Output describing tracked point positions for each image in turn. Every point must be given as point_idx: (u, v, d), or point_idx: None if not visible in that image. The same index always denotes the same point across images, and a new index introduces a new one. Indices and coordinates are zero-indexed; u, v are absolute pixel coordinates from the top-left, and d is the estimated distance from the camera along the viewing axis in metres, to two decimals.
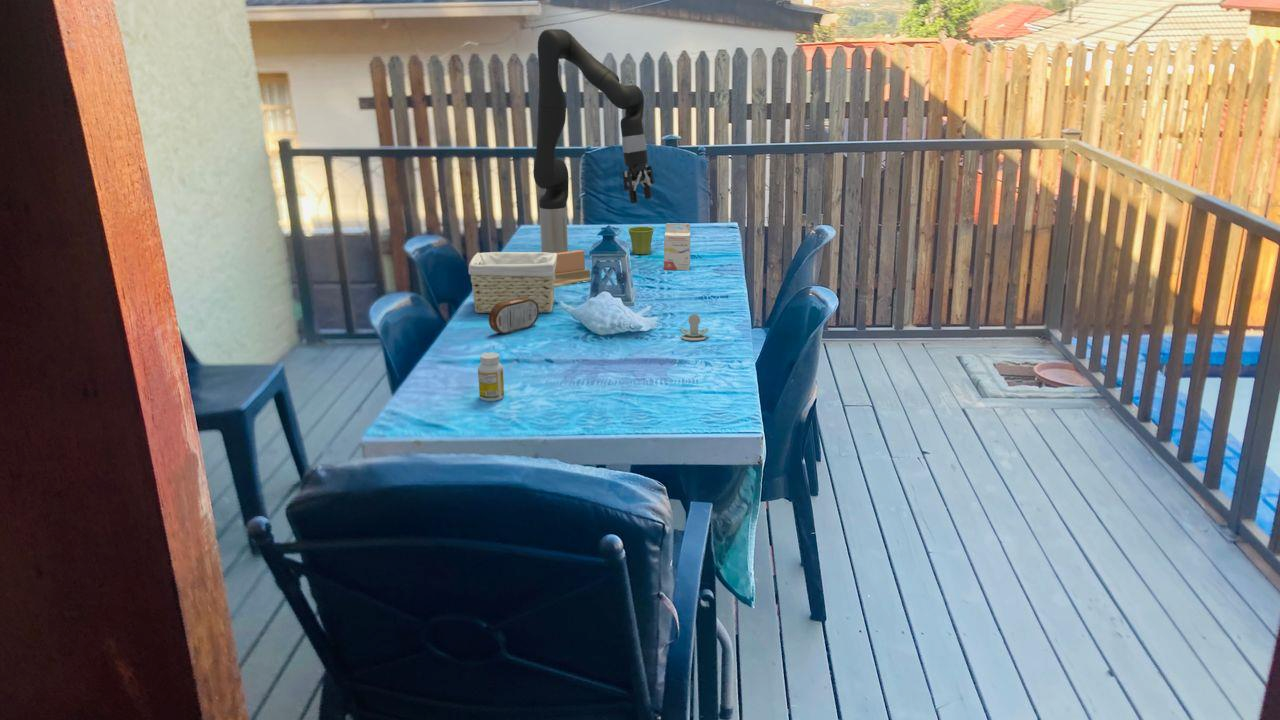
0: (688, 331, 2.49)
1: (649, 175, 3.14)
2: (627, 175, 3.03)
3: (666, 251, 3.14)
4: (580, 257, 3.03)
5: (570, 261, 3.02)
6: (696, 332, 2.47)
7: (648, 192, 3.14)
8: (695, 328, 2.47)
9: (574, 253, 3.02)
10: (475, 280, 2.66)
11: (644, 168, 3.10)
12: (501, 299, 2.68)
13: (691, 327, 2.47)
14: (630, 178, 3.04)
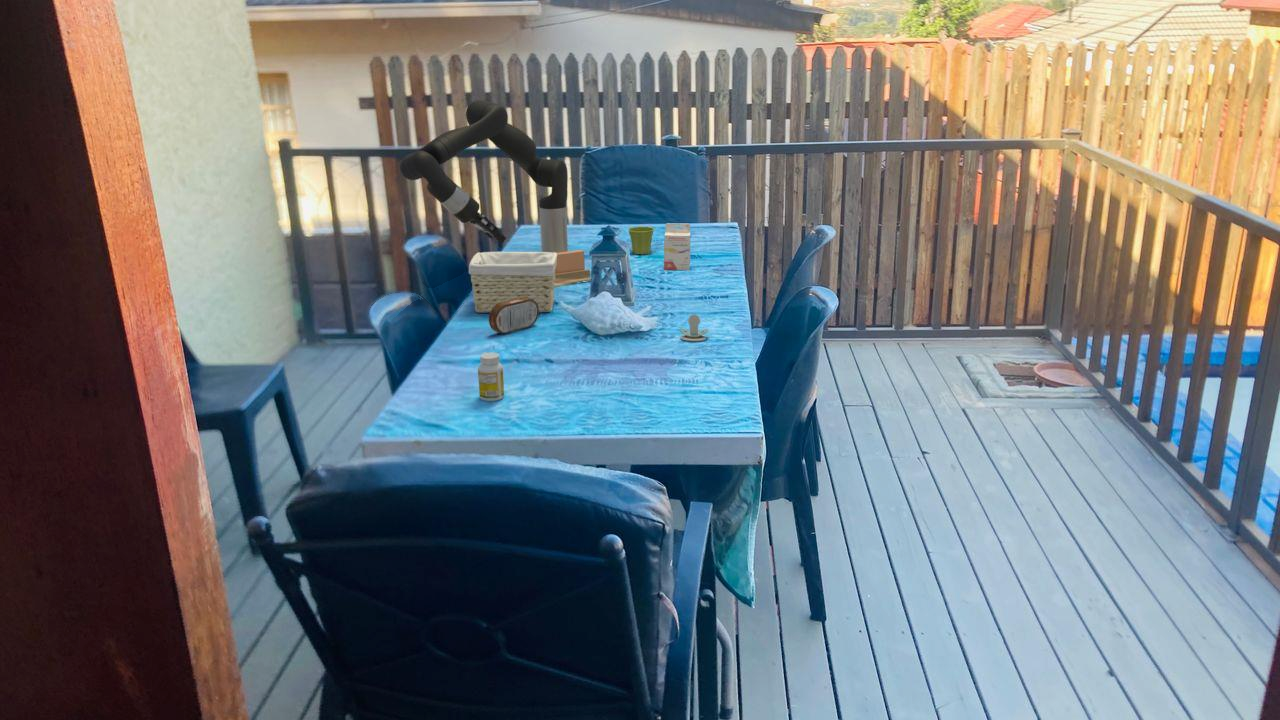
0: (688, 332, 2.48)
1: None
2: None
3: (666, 251, 3.14)
4: (580, 257, 3.03)
5: (570, 261, 3.02)
6: (696, 333, 2.47)
7: None
8: (695, 329, 2.46)
9: (574, 253, 3.02)
10: (475, 280, 2.66)
11: (475, 221, 2.81)
12: (501, 299, 2.68)
13: (691, 328, 2.47)
14: (469, 221, 2.89)
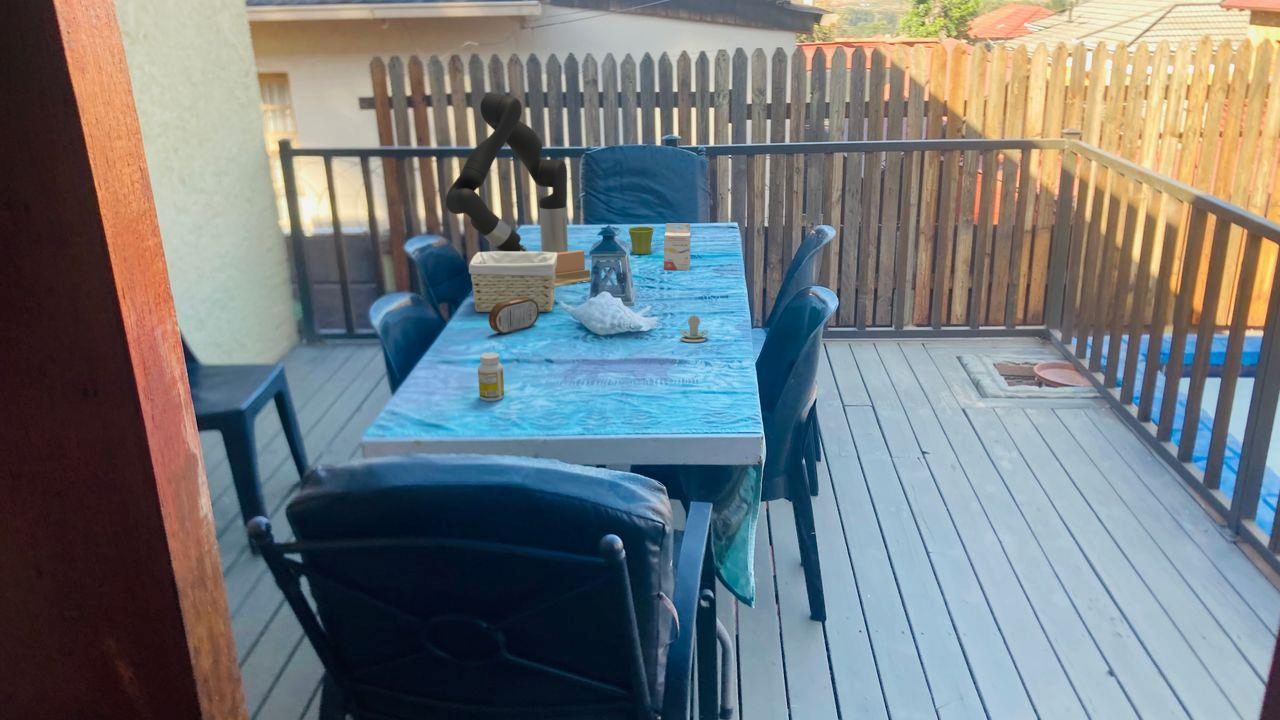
0: (688, 333, 2.48)
1: None
2: None
3: (666, 251, 3.14)
4: (580, 257, 3.03)
5: (570, 261, 3.02)
6: (696, 334, 2.46)
7: None
8: (695, 330, 2.46)
9: (574, 253, 3.02)
10: (475, 279, 2.67)
11: None
12: (501, 298, 2.69)
13: (691, 329, 2.46)
14: None
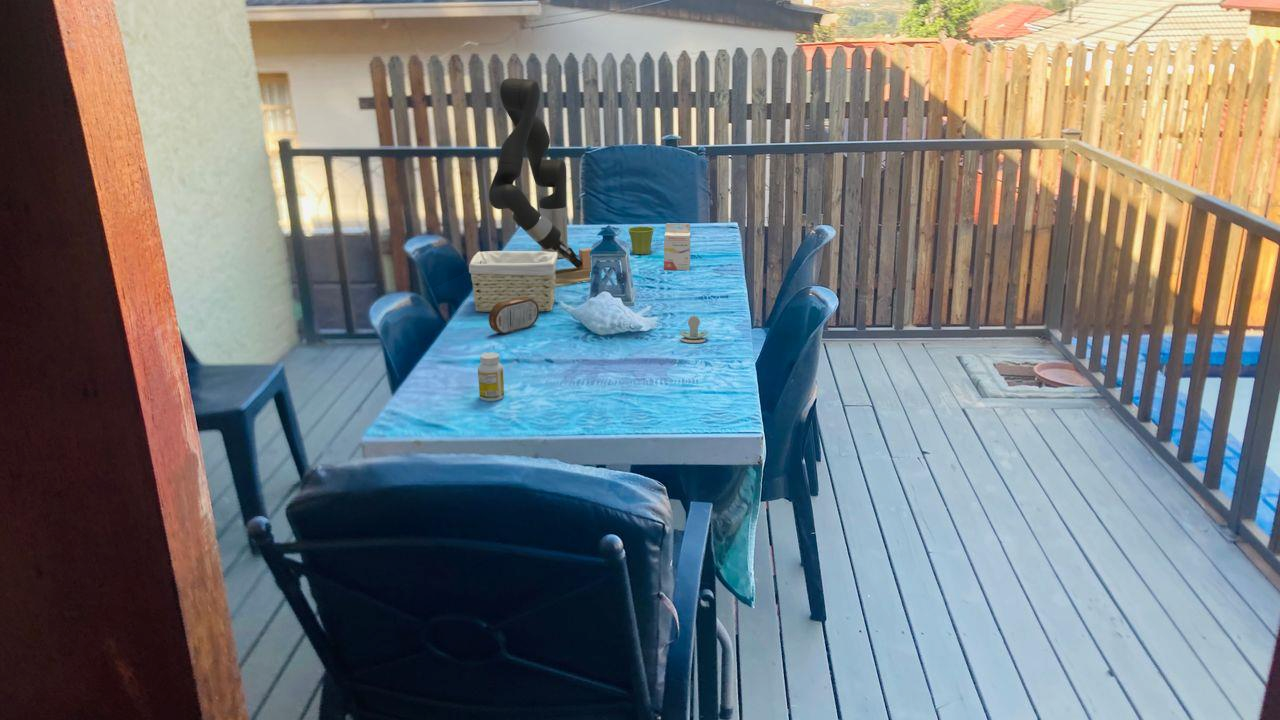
0: (688, 333, 2.47)
1: None
2: None
3: (666, 251, 3.14)
4: None
5: None
6: (696, 334, 2.46)
7: None
8: (695, 330, 2.45)
9: None
10: (475, 279, 2.67)
11: (557, 247, 2.97)
12: (501, 298, 2.69)
13: (691, 329, 2.45)
14: None
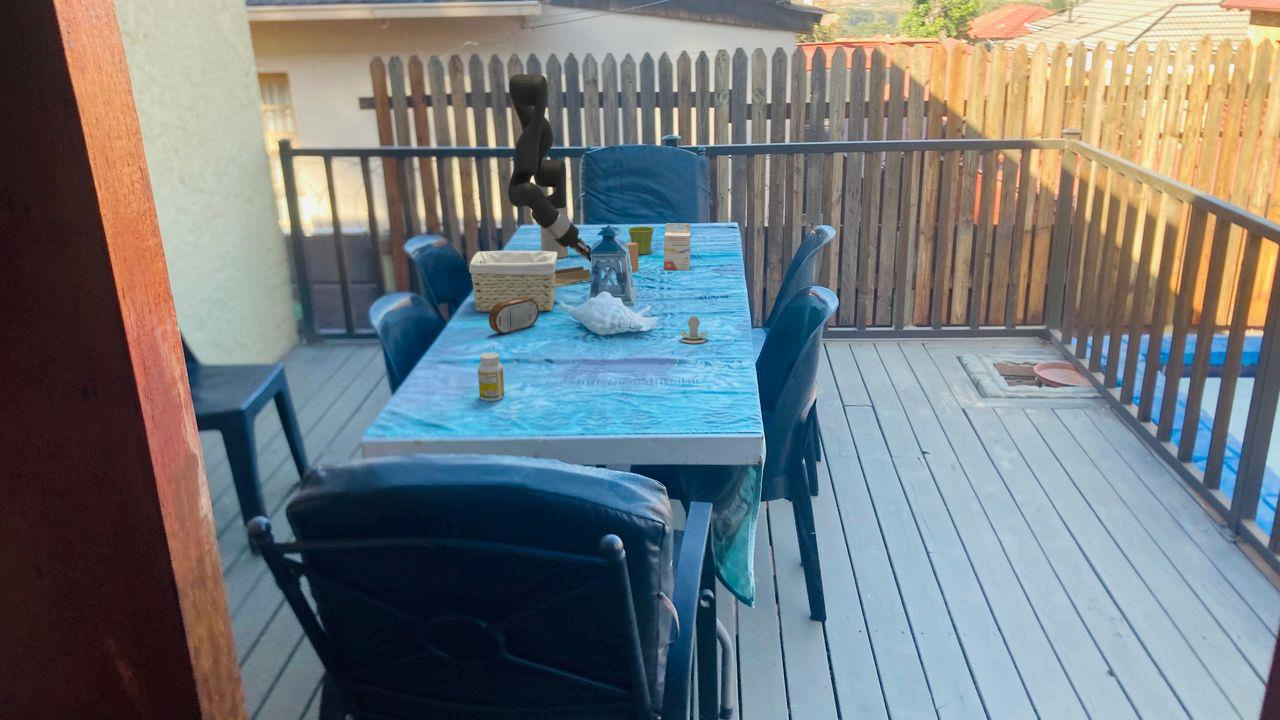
0: (687, 334, 2.47)
1: None
2: None
3: (666, 251, 3.14)
4: (634, 249, 3.12)
5: None
6: (696, 335, 2.45)
7: None
8: (694, 331, 2.45)
9: (628, 246, 3.11)
10: (476, 279, 2.67)
11: (575, 245, 2.99)
12: (502, 298, 2.69)
13: (690, 330, 2.45)
14: None
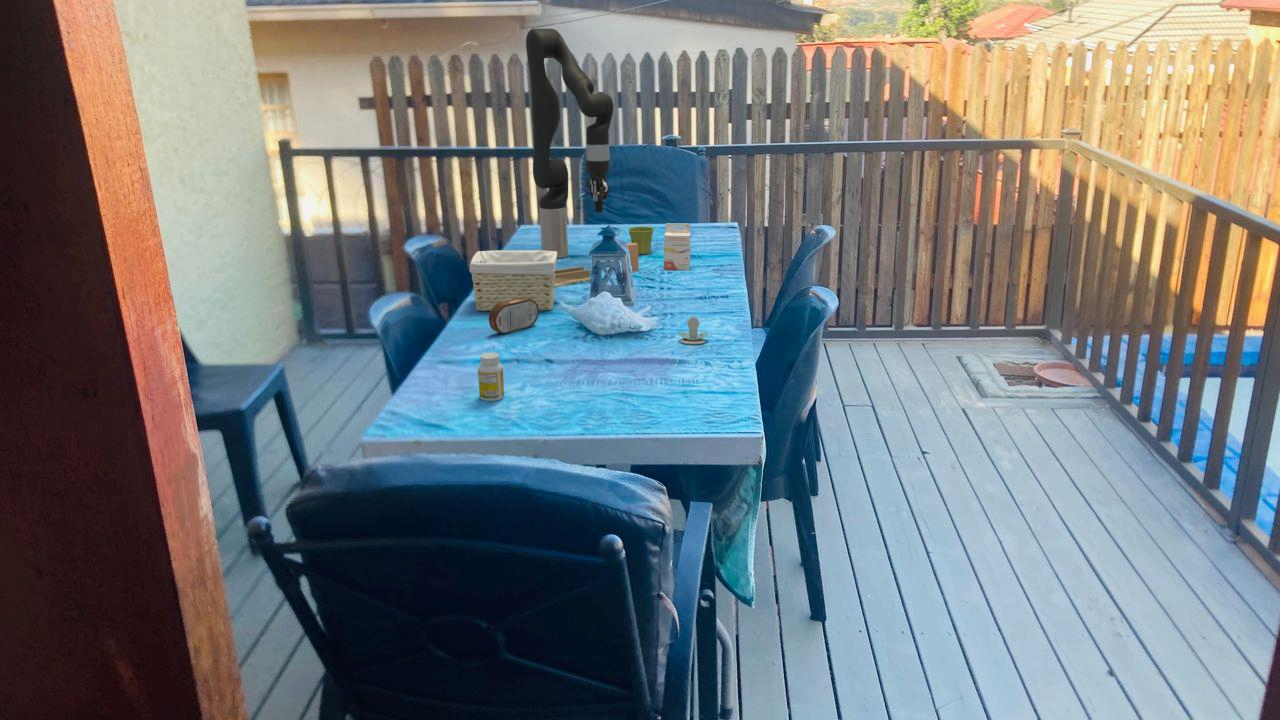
0: (687, 335, 2.46)
1: None
2: None
3: (666, 251, 3.14)
4: (634, 250, 3.12)
5: None
6: (695, 336, 2.44)
7: None
8: (694, 332, 2.44)
9: (629, 246, 3.11)
10: (476, 278, 2.67)
11: (599, 178, 3.07)
12: (502, 297, 2.70)
13: (690, 331, 2.44)
14: (589, 188, 3.14)
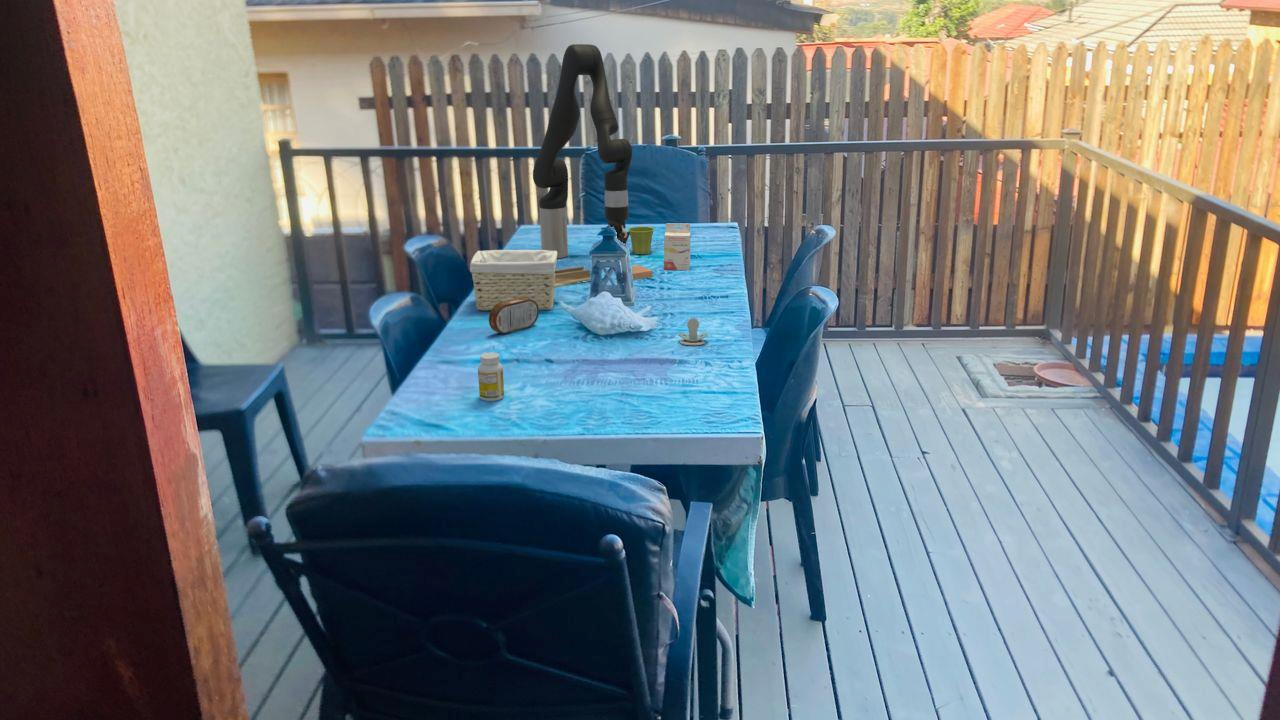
0: (687, 336, 2.45)
1: None
2: None
3: (666, 251, 3.14)
4: None
5: None
6: (695, 337, 2.44)
7: None
8: (694, 333, 2.43)
9: None
10: (476, 278, 2.68)
11: (618, 224, 3.02)
12: (502, 296, 2.70)
13: (690, 332, 2.43)
14: None
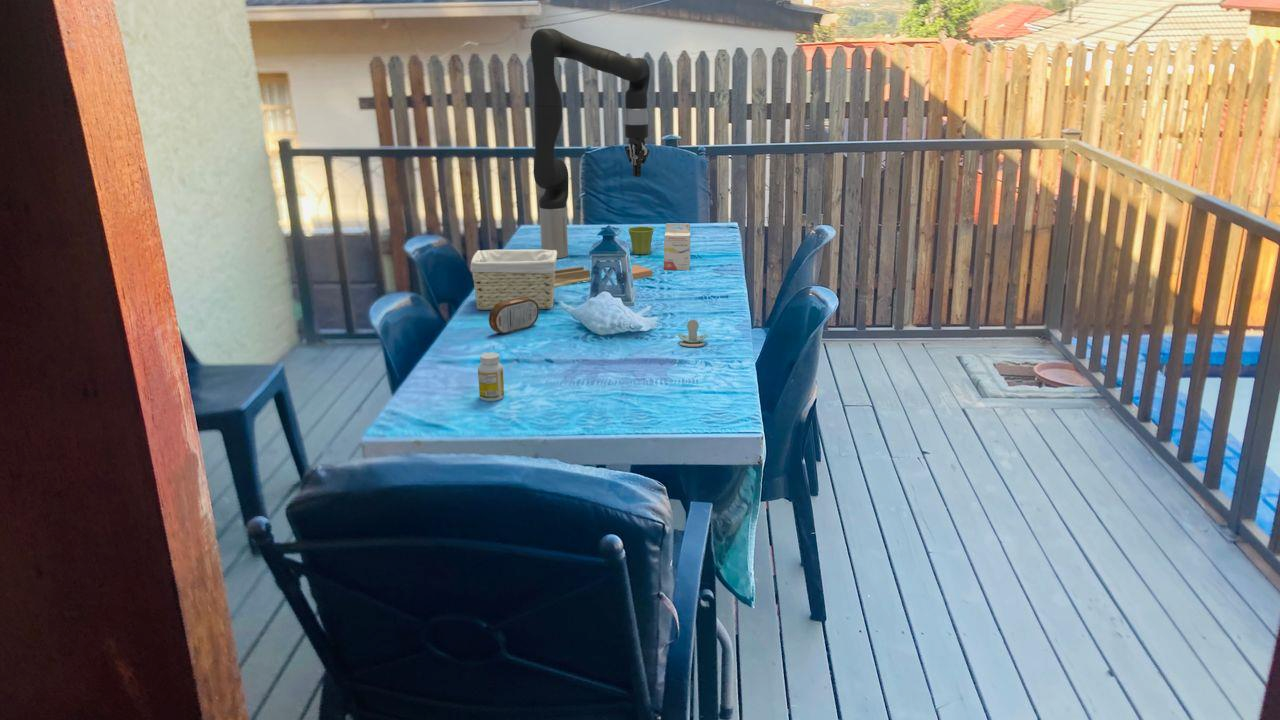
0: (687, 337, 2.44)
1: None
2: None
3: (666, 251, 3.14)
4: None
5: None
6: (695, 338, 2.43)
7: None
8: (694, 334, 2.42)
9: None
10: (477, 277, 2.69)
11: (638, 142, 3.10)
12: (503, 296, 2.71)
13: (689, 333, 2.42)
14: (627, 153, 3.17)
